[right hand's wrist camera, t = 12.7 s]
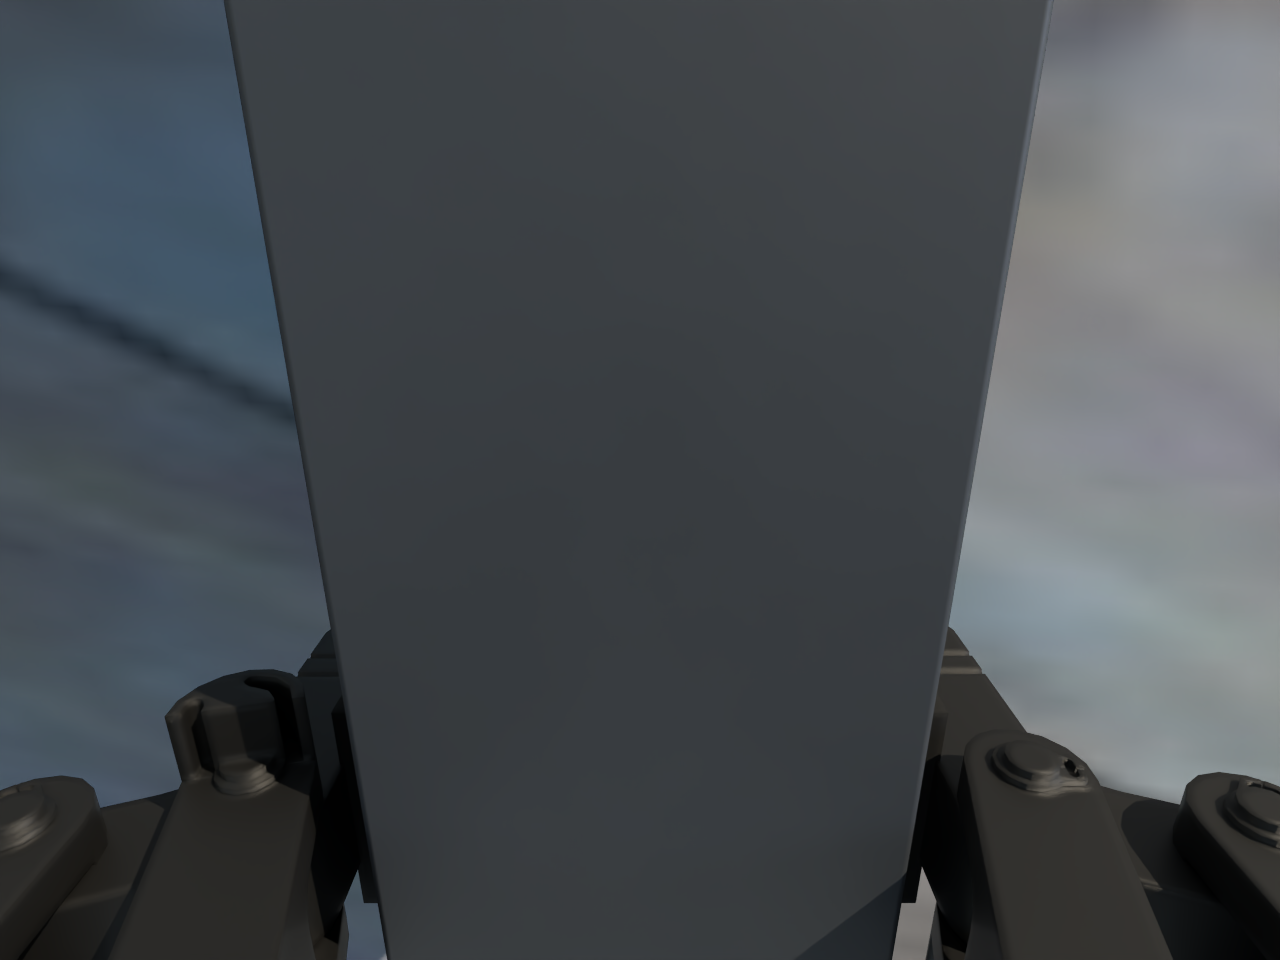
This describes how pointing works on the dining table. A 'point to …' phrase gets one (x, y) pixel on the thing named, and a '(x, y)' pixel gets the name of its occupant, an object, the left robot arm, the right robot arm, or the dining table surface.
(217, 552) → the dining table surface
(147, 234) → the dining table surface
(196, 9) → the dining table surface
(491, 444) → the beam
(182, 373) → the dining table surface
